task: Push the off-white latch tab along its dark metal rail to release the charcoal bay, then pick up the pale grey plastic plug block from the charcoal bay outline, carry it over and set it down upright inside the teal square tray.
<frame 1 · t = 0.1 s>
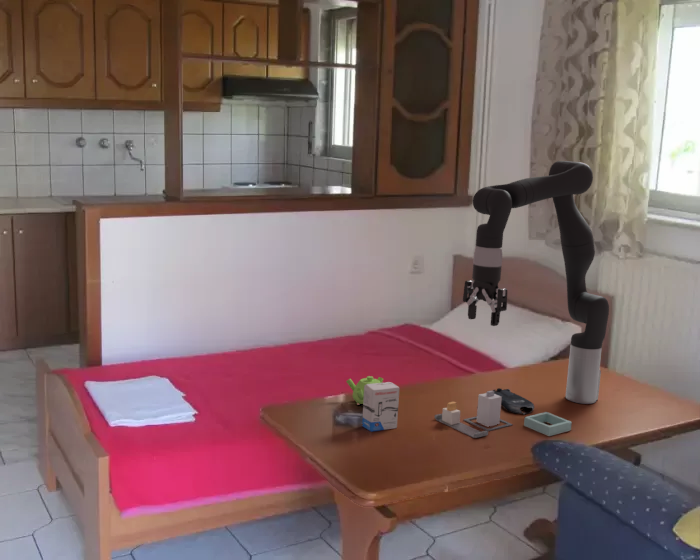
hand: (482, 322, 220), 29 cm above the table, fingers open, 8 cm apart
latch rail: (460, 427, 222), on the table
ink box: (379, 427, 220), on the table
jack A: (487, 422, 227), on the table
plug: (487, 422, 227), on the table
electronic device: (512, 407, 242), on the table
teal square tray: (547, 428, 225), on the table
teapot: (366, 404, 238), on the table
latch tab: (451, 412, 225), point 3 cm above the table, slide at 0.0 cm
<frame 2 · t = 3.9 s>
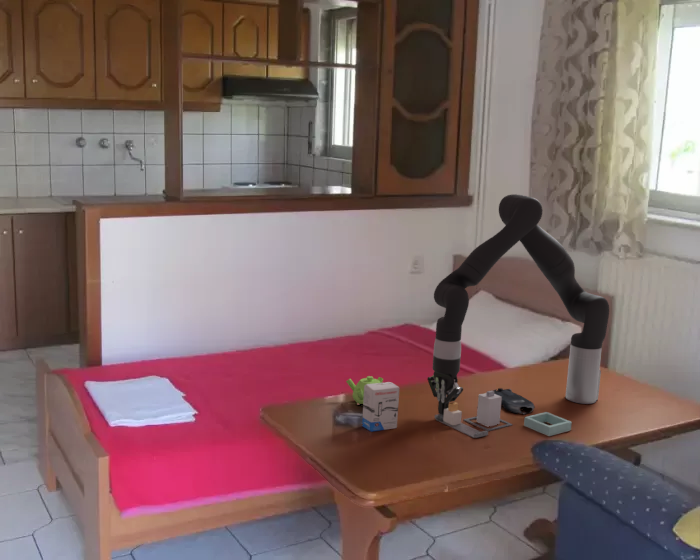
hand: (442, 413, 228), 1 cm above the table, fingers closed
latch tab: (452, 412, 224), point 3 cm above the table, slide at 0.6 cm, touching gripper
everything else where it was.
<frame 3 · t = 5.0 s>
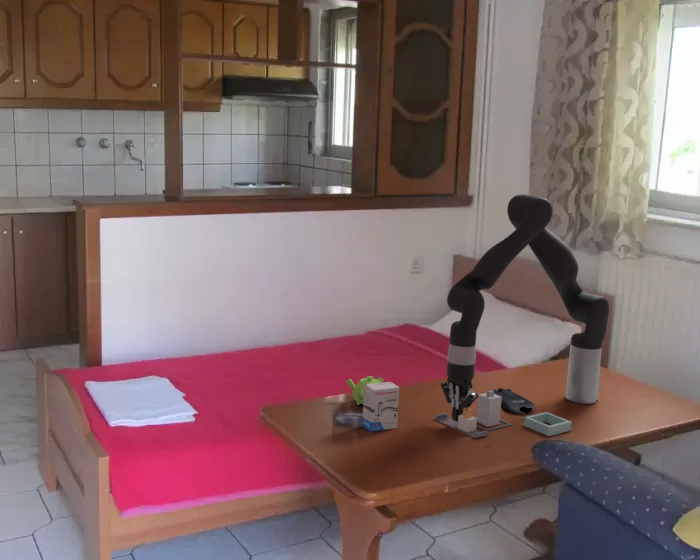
hand: (456, 420, 223), 1 cm above the table, fingers closed
latch tab: (467, 419, 219), point 3 cm above the table, slide at 6.4 cm, touching gripper
everything else where it was.
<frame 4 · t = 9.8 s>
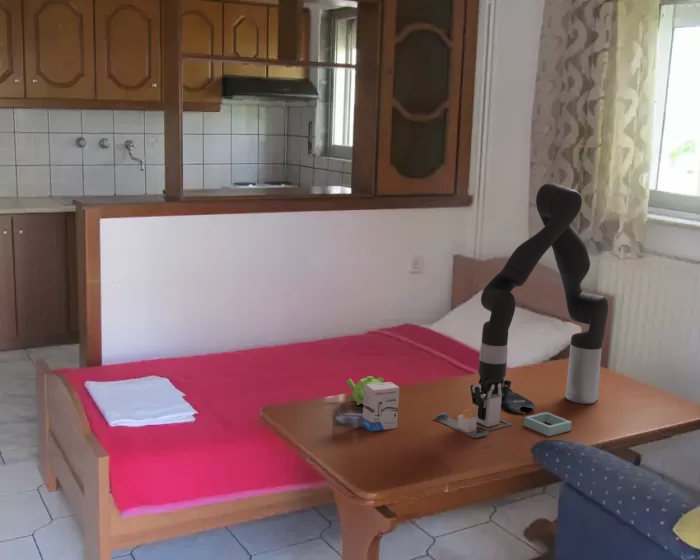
hand: (488, 417, 226), 2 cm above the table, fingers closed on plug, 4 cm apart
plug: (487, 422, 227), on the table, touching gripper
latch tab: (467, 419, 219), point 3 cm above the table, slide at 6.4 cm
everything else where it was.
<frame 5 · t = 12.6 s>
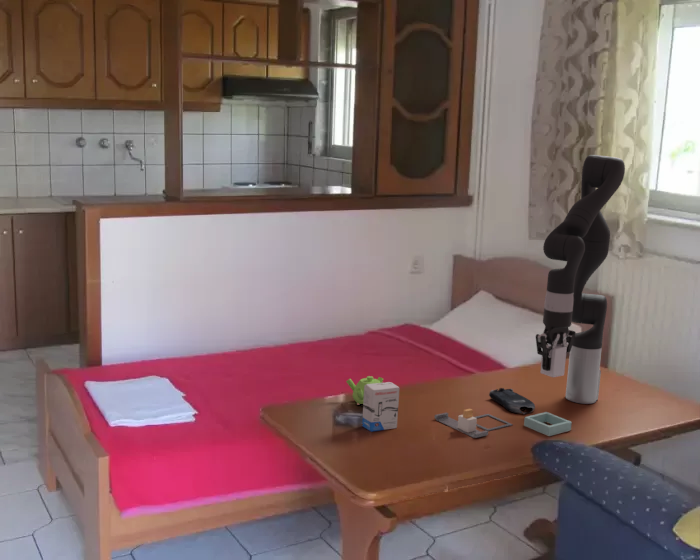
hand: (552, 368, 222), 17 cm above the table, fingers closed on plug, 4 cm apart
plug: (552, 374, 222), point 16 cm above the table, touching gripper
everything else where it was.
when the fingers open (3 cm above the table, at t = 15.6 s): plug drops 1 cm, on the table.
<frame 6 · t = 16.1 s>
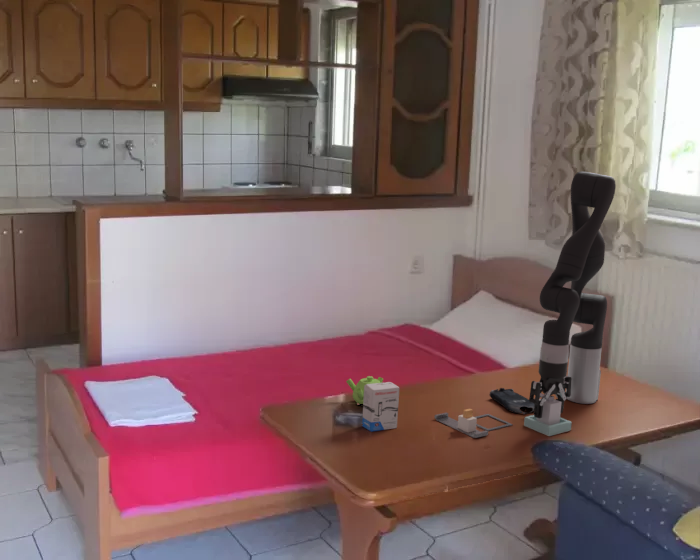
hand: (548, 414, 224), 4 cm above the table, fingers open, 8 cm apart
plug: (547, 428, 225), on the table
everything else where it was.
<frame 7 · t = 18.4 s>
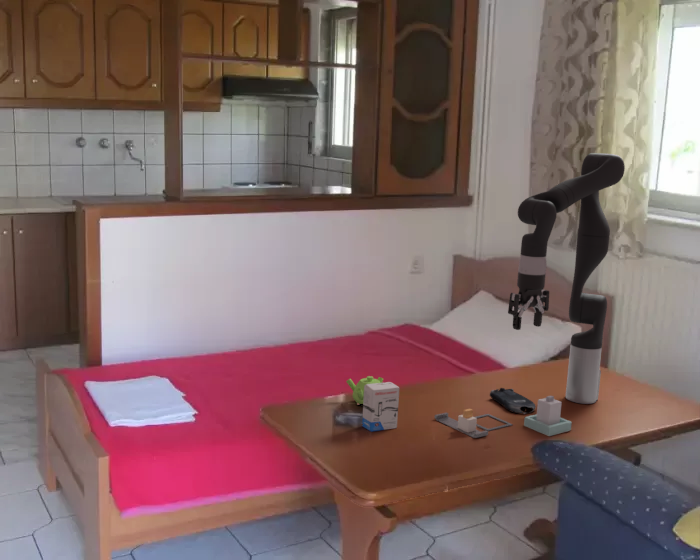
hand: (527, 327, 229), 26 cm above the table, fingers open, 8 cm apart
nothing on the table moved.
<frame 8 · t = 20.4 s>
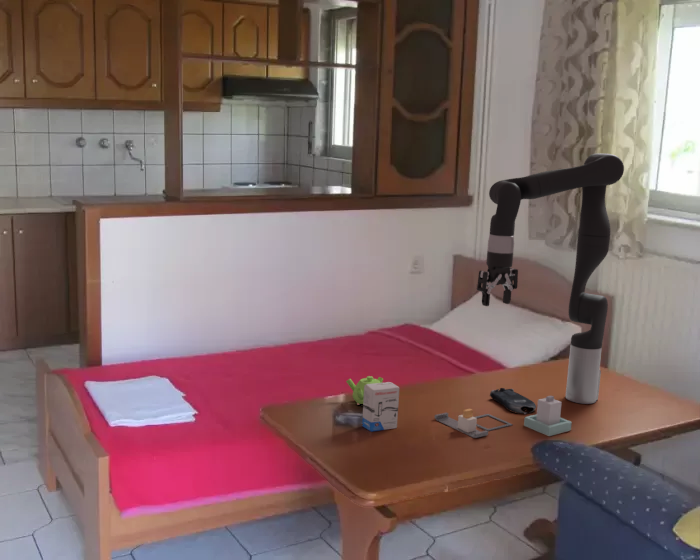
hand: (496, 304, 239), 30 cm above the table, fingers open, 8 cm apart
nothing on the table moved.
at the end: latch tab slide at 6.4 cm; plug inside the target area on the teal square tray (0.1 cm from its centre), point 0.0 cm above the teal square tray's base; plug tilted 0° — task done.
